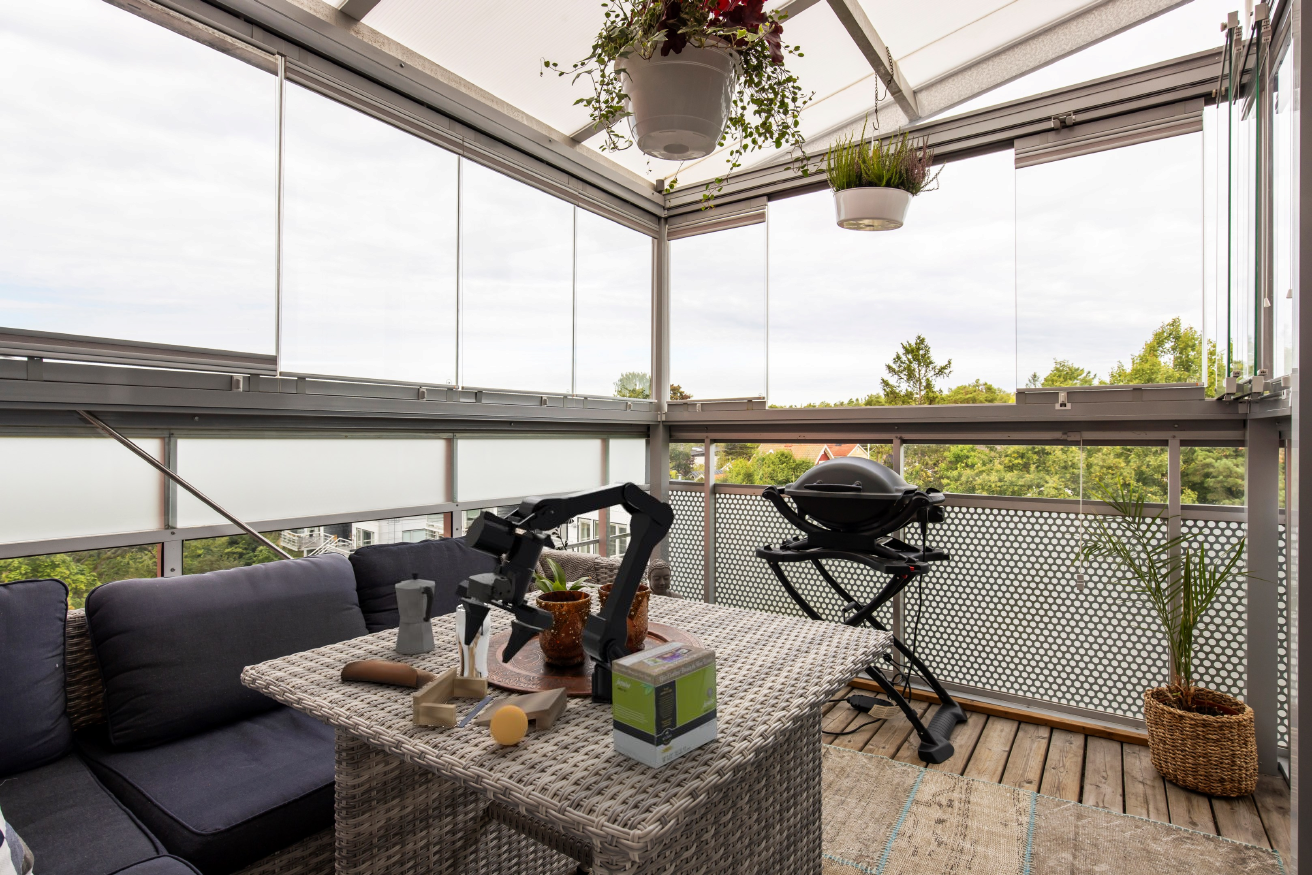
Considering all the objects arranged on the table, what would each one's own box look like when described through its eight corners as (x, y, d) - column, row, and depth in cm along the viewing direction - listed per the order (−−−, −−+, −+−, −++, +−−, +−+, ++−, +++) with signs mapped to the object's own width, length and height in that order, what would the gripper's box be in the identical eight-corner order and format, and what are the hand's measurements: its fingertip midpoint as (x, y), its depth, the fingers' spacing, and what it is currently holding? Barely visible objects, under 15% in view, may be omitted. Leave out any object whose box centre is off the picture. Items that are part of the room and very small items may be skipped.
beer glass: (481, 687, 137) (481, 611, 137) (449, 684, 139) (448, 609, 138) (496, 674, 144) (496, 603, 144) (465, 672, 145) (465, 601, 145)
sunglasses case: (441, 675, 144) (431, 652, 140) (424, 703, 138) (413, 680, 134) (367, 667, 148) (356, 645, 145) (347, 694, 142) (335, 672, 139)
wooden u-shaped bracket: (494, 696, 132) (494, 670, 132) (460, 728, 118) (460, 699, 118) (451, 693, 134) (451, 667, 134) (412, 724, 120) (412, 696, 120)
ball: (532, 736, 115) (532, 700, 115) (520, 753, 109) (520, 715, 109) (498, 733, 116) (498, 698, 116) (484, 750, 110) (484, 712, 110)
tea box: (673, 721, 121) (674, 637, 121) (718, 739, 114) (719, 650, 114) (610, 750, 111) (610, 658, 110) (655, 771, 104) (656, 673, 103)
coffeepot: (384, 646, 163) (384, 569, 163) (422, 637, 169) (422, 564, 169) (411, 662, 152) (411, 580, 151) (451, 653, 158) (451, 574, 158)
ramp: (567, 711, 128) (567, 687, 128) (549, 735, 118) (549, 708, 118) (495, 706, 130) (495, 682, 130) (473, 729, 120) (473, 703, 120)
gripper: (451, 541, 119) (414, 630, 116) (529, 570, 109) (492, 668, 106) (493, 555, 128) (460, 638, 125) (569, 583, 118) (536, 674, 115)
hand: (485, 653), depth 117 cm, fingers open, 9 cm apart
